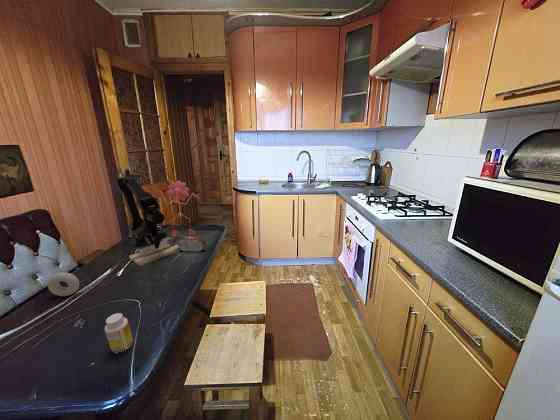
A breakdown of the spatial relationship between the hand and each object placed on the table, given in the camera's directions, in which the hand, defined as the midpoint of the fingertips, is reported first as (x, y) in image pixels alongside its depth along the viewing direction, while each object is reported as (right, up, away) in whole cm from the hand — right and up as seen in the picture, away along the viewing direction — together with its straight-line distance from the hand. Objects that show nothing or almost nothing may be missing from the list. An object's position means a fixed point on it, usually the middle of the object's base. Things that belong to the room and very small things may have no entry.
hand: (155, 247), depth 124 cm
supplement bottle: (+19, -20, -55) cm, 61 cm away
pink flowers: (+7, +4, +23) cm, 24 cm away
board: (0, -3, +1) cm, 4 cm away
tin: (+18, -2, +3) cm, 19 cm away
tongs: (+1, -1, +1) cm, 2 cm away
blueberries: (0, -19, -46) cm, 49 cm away
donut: (-19, -14, -31) cm, 39 cm away
